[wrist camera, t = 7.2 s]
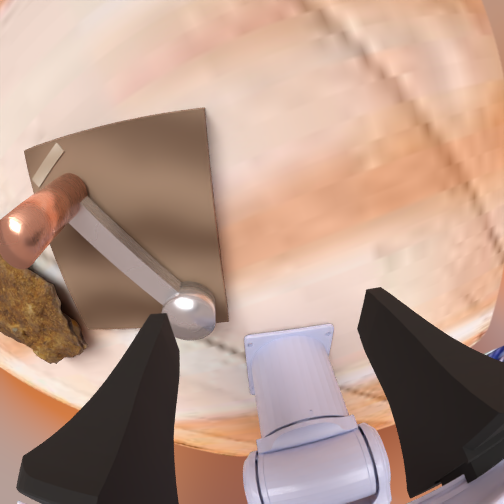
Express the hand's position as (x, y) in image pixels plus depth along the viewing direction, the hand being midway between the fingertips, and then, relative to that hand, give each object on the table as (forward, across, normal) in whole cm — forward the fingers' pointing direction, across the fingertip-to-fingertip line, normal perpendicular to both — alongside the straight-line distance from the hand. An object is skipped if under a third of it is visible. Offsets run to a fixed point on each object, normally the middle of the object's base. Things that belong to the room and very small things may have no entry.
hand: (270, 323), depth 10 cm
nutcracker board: (+10, +8, +1) cm, 13 cm away
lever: (+9, +8, +1) cm, 12 cm away
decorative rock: (+11, +21, +5) cm, 24 cm away
